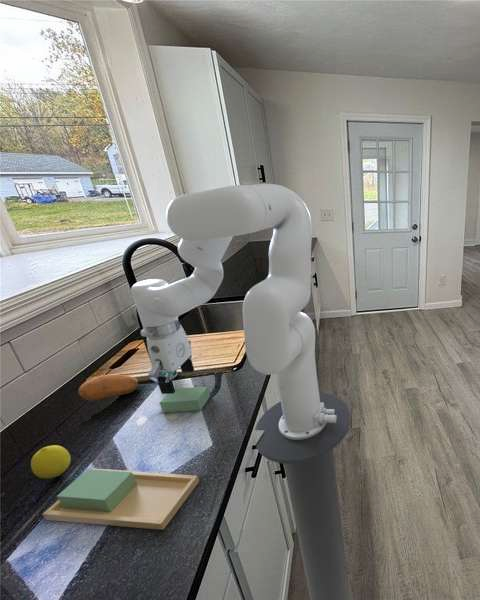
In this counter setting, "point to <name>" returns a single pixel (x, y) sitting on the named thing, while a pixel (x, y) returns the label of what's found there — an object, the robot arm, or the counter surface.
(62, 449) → the lemon
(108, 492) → the pad
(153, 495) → the tray
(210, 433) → the counter surface
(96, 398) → the potato
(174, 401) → the pad
